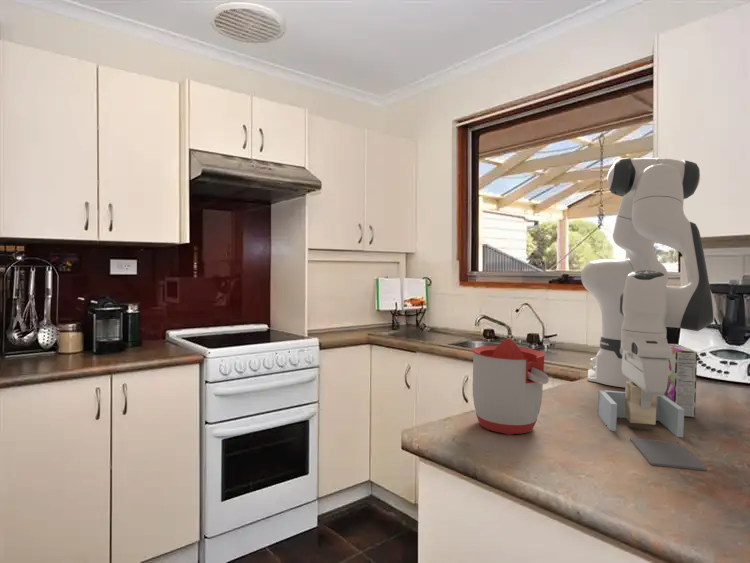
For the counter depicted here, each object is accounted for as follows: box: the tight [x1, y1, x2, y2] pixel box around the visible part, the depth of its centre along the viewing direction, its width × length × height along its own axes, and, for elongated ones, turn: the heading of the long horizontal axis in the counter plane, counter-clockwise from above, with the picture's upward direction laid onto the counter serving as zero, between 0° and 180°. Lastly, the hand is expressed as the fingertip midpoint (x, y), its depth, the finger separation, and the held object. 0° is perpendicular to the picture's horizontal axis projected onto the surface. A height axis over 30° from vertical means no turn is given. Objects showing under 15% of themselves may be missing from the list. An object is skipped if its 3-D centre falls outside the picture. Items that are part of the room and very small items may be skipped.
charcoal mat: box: [629, 437, 707, 472], centre depth 92 cm, size 13×9×1 cm
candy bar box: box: [664, 343, 698, 418], centre depth 120 cm, size 11×5×16 cm, turn 168°
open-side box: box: [597, 389, 685, 438], centre depth 109 cm, size 12×14×6 cm
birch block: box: [624, 381, 657, 426], centre depth 106 cm, size 5×5×8 cm
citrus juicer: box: [472, 337, 549, 436], centre depth 105 cm, size 16×17×20 cm
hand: (640, 404), depth 106 cm, fingers closed on birch block, 5 cm apart
